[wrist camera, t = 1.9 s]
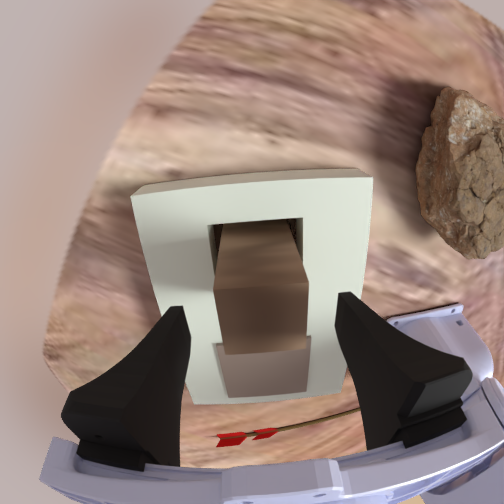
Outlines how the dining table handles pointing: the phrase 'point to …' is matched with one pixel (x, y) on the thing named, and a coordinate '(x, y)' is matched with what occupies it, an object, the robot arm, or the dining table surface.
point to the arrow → (268, 431)
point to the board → (205, 261)
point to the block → (260, 288)
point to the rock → (463, 174)
